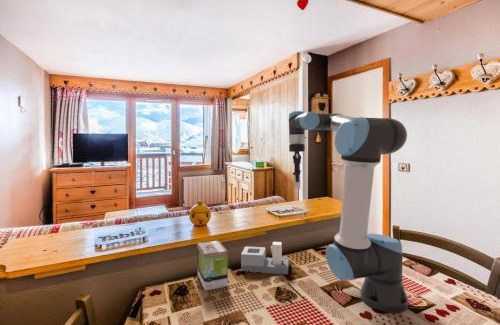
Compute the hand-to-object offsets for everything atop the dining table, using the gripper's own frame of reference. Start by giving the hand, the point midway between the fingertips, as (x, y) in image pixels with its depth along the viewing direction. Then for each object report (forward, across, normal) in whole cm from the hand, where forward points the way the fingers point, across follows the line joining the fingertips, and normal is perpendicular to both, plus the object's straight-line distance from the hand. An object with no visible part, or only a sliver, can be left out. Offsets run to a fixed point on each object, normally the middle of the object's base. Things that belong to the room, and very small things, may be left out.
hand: (297, 186), depth 131 cm
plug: (+37, -11, +10) cm, 40 cm away
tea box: (+37, -26, +36) cm, 58 cm away
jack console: (+37, -11, +15) cm, 41 cm away
